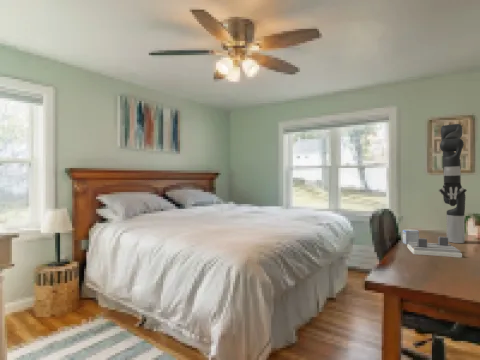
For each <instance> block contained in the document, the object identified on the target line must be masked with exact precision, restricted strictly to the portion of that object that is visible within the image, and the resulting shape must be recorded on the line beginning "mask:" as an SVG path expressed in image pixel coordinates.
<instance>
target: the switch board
mask: <svg viewBox="0 0 480 360" xmlns="http://www.w3.org/2000/svg"><path fill="white" fill-rule="evenodd" d="M406 247H407V248H408V250H409V251H410V252H411V253H412V254H413V255H420V256H436V257H448V258H449V257H450V258H451V257H452V258H463V254H462V252H461V249H458V248H457V247H455V246H452V244H451V243H448V246H441V245H438V242H437V243H434V242H427V248H423V247H417V242H409V244H406Z"/></svg>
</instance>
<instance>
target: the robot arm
mask: <svg viewBox="0 0 480 360" xmlns="http://www.w3.org/2000/svg"><path fill="white" fill-rule="evenodd" d="M463 130H464V129H463V126H462V125H461V124H460V123H453V124H445V125H442V126H441V127H440V138H441V141H440V143H439V148H440V150H441V151H442V172H443V185H442V188H439V189H438V192H439V193H441V195H442V196H443V202H444V204H447V205H450V207H454V208H450V209H447V210H446V237H448V243H453V244H454V243H455V244H465V241H466V240H465V238H466V237H465V229H466V228H465V213H466V212H465V211H466V210H465V209H466V192H467V189H466V188H464V187H463V186H462V184H461V183H462V181H461V180H462V179H461V178H462V177H461V175H462V172H461V170H462V163H461V154H462V151H463V148H464V143H465V142H464V140H463V139H462V137H463V132H464V131H463Z"/></svg>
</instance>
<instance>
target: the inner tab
mask: <svg viewBox="0 0 480 360" xmlns="http://www.w3.org/2000/svg"><path fill="white" fill-rule="evenodd" d="M437 244H438V245H441V246H448V244H449V242H448V237H447V236H438V237H437Z"/></svg>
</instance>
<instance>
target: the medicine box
mask: <svg viewBox="0 0 480 360" xmlns="http://www.w3.org/2000/svg"><path fill="white" fill-rule="evenodd" d="M417 238H420V231H419V230H418V229H402V243H403V244H404V245H407V244H409V242H417Z"/></svg>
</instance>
